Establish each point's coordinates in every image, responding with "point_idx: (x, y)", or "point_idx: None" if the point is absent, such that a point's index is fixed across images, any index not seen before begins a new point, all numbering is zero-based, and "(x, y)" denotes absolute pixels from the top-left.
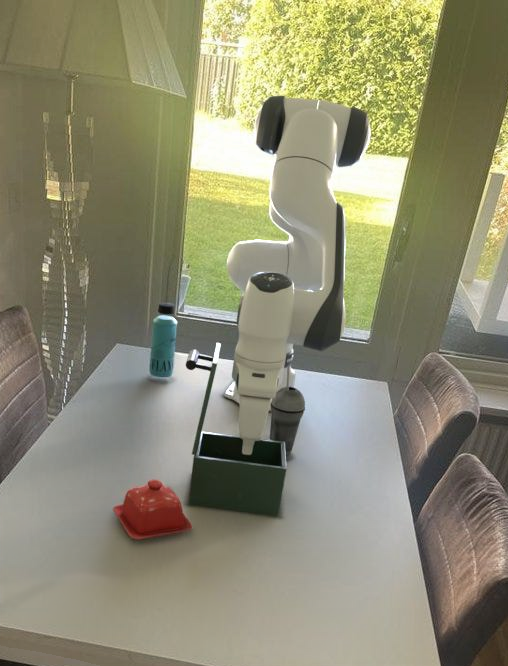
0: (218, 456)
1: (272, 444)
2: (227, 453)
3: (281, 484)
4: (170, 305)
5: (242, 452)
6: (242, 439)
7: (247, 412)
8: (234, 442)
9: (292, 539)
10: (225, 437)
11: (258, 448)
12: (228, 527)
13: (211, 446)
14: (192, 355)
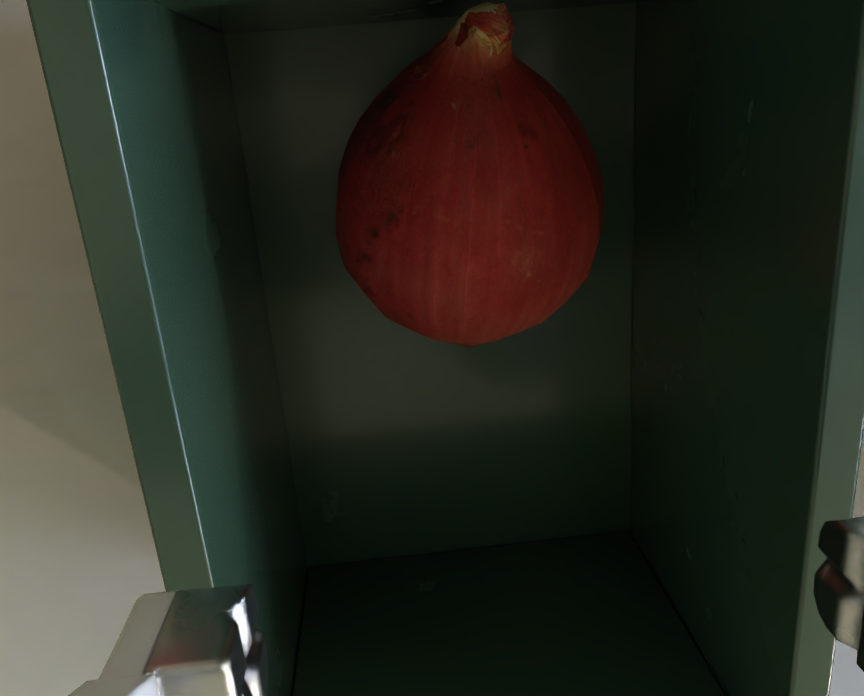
0: (709, 167)
1: None
2: (724, 256)
3: None
4: None
5: (138, 603)
6: (808, 444)
7: None
8: (786, 347)
9: (77, 660)
10: (824, 251)
11: (751, 558)
12: (22, 328)
13: (761, 83)
14: None
